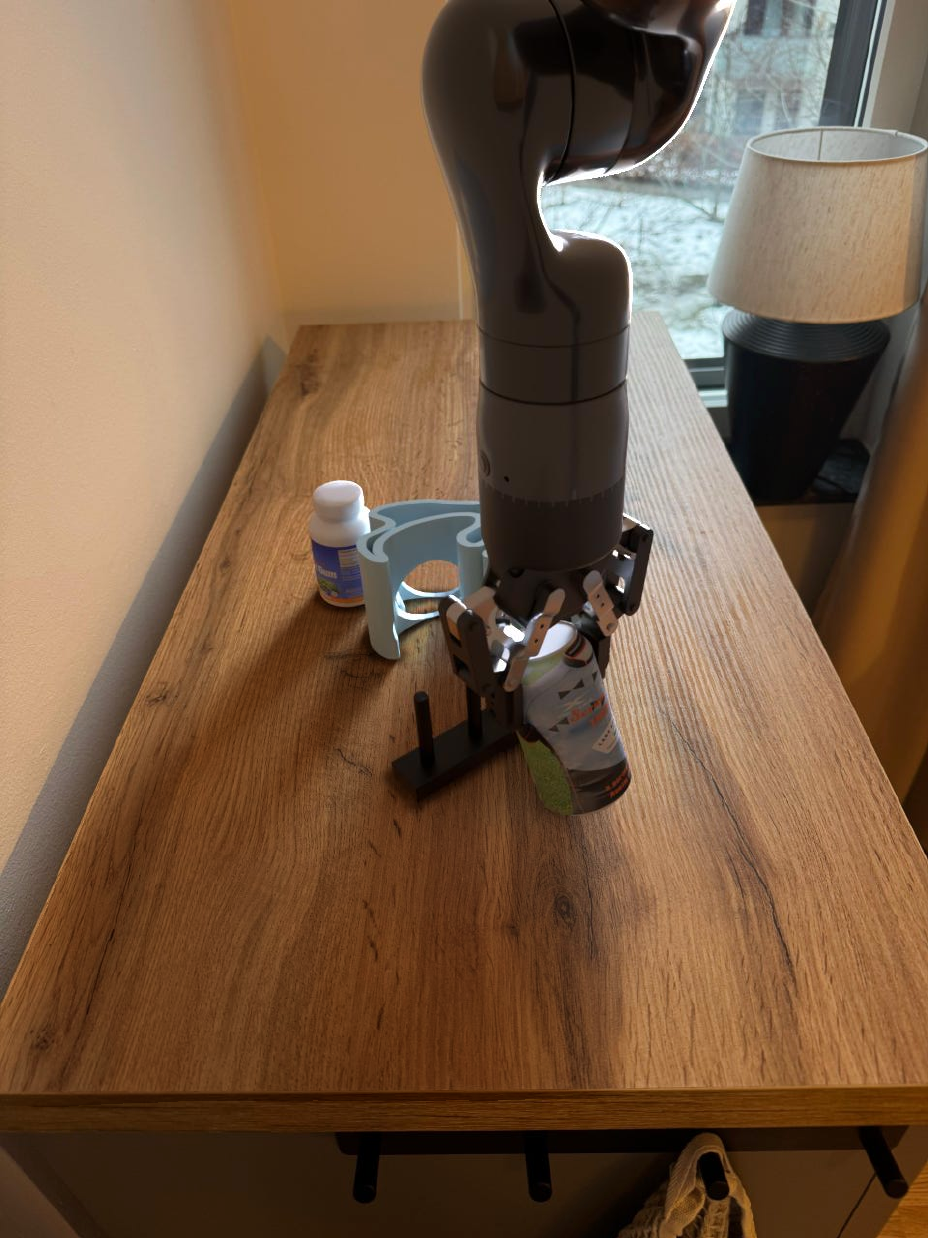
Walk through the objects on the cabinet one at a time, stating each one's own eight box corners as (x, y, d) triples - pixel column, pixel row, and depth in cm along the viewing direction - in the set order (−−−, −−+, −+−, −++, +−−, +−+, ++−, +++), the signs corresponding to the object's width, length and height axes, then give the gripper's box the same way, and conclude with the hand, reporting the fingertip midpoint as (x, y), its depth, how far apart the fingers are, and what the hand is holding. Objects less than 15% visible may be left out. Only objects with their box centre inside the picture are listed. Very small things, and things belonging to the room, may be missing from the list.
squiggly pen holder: (583, 583, 78) (588, 489, 72) (602, 661, 70) (608, 562, 64) (372, 596, 78) (359, 503, 72) (368, 675, 70) (352, 577, 64)
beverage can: (622, 834, 56) (597, 666, 50) (509, 822, 59) (474, 662, 53) (643, 769, 61) (622, 610, 55) (538, 762, 64) (508, 610, 58)
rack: (596, 696, 67) (601, 616, 63) (417, 803, 60) (407, 723, 56) (569, 674, 69) (571, 596, 65) (392, 776, 62) (381, 697, 58)
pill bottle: (309, 584, 80) (291, 488, 74) (365, 564, 82) (352, 468, 76) (335, 617, 76) (318, 518, 70) (393, 595, 78) (381, 497, 72)
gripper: (484, 541, 41) (495, 791, 51) (706, 437, 47) (675, 679, 58) (391, 477, 46) (419, 718, 56) (604, 391, 52) (593, 622, 62)
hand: (549, 697), depth 57 cm, fingers closed on beverage can, 6 cm apart
